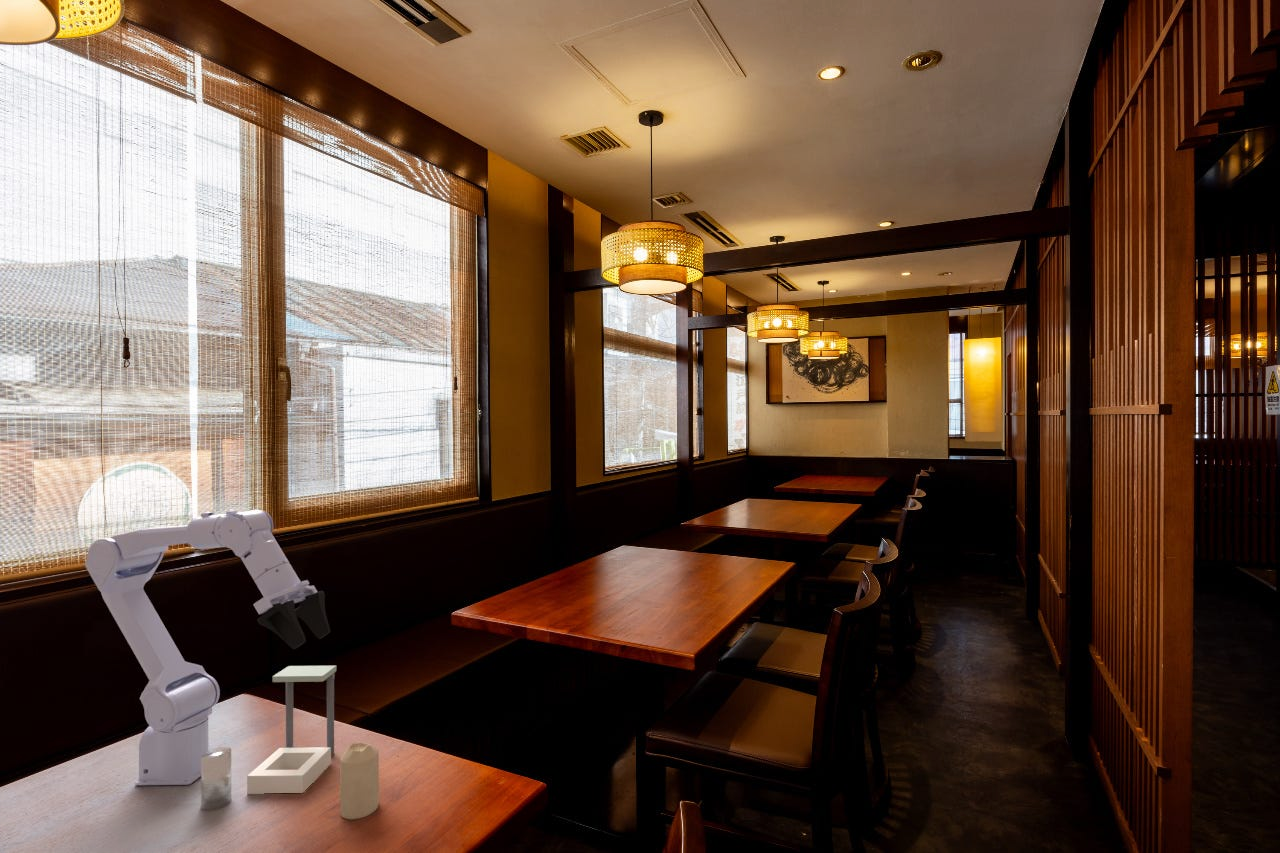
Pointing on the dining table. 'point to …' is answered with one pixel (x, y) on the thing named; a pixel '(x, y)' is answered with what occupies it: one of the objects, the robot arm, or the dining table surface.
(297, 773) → the socket block
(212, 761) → the peg
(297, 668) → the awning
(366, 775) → the candle
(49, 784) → the dining table surface
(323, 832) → the dining table surface
